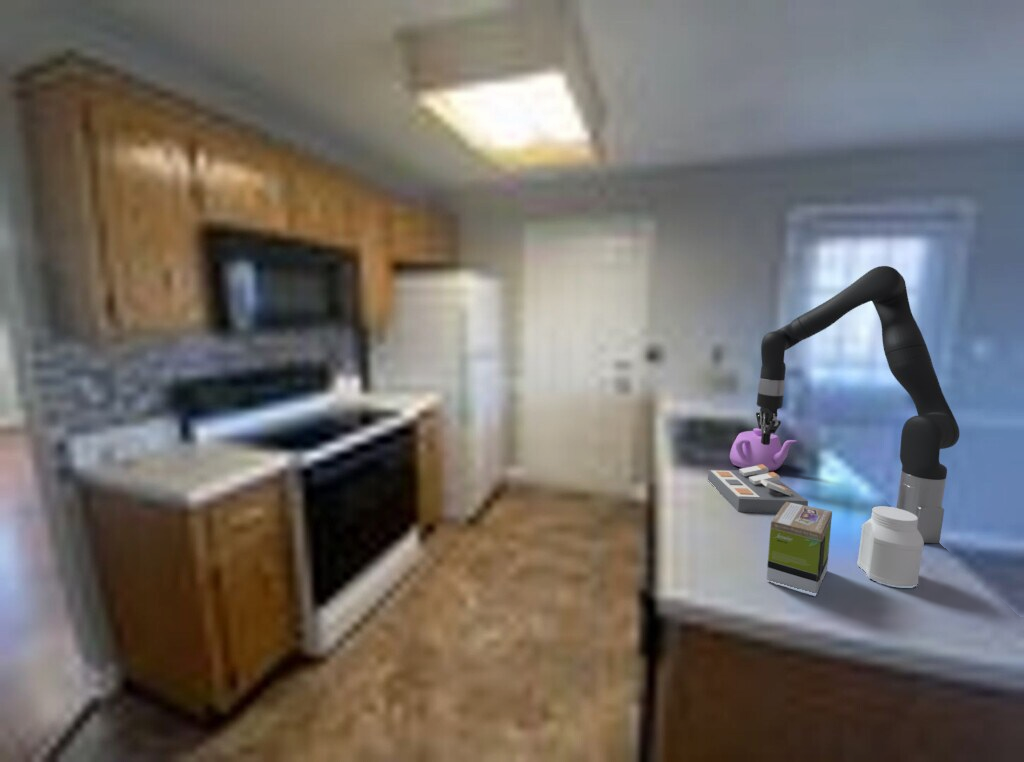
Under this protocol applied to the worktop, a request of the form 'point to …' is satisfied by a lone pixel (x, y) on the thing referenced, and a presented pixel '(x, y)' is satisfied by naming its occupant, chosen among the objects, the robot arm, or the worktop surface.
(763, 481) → the rocker
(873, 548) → the jar
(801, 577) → the tea box
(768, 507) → the switch panel
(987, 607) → the worktop surface
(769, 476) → the rocker
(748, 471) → the rocker
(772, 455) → the teapot
